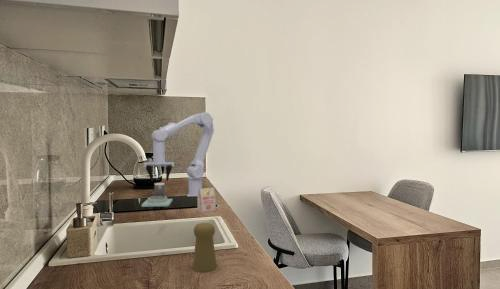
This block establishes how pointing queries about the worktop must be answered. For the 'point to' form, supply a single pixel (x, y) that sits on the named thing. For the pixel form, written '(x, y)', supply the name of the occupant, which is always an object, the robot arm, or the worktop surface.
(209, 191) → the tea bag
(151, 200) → the collar mount
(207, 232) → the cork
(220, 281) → the worktop surface
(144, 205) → the plate
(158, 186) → the lens barrel
